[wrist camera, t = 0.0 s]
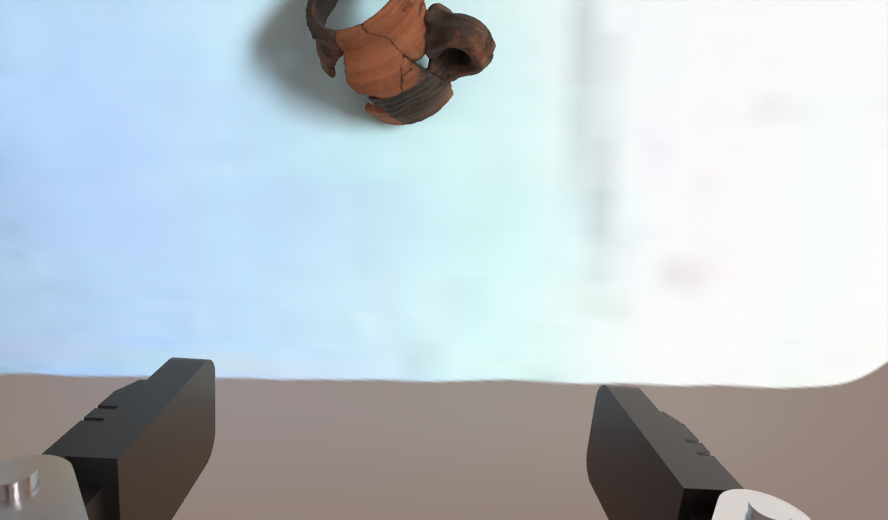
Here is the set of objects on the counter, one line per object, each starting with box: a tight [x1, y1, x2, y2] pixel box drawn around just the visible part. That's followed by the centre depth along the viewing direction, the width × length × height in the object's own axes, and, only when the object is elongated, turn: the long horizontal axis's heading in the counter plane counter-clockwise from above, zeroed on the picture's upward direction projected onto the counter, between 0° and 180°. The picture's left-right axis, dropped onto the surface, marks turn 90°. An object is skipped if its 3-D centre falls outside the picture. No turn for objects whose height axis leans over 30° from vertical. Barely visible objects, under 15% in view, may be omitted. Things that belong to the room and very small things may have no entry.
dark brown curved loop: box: [306, 0, 496, 125], centre depth 35 cm, size 12×9×8 cm
